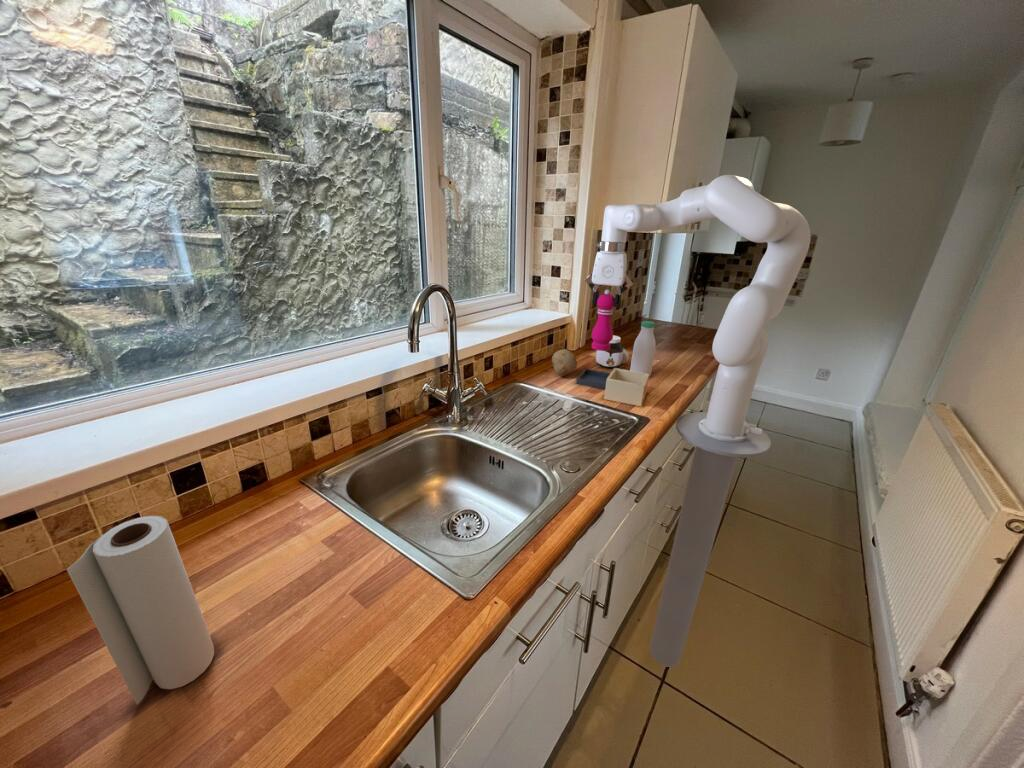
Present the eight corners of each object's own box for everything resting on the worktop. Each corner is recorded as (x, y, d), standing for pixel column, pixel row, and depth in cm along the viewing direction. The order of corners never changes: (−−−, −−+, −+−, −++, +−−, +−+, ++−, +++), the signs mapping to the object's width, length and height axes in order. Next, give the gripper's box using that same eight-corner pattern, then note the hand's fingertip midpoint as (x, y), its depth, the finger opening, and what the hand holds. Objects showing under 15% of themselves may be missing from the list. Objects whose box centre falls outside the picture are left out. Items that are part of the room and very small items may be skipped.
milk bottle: (652, 378, 149) (661, 325, 141) (630, 376, 150) (638, 323, 142) (649, 371, 156) (658, 320, 148) (628, 369, 157) (636, 318, 149)
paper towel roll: (217, 634, 55) (172, 507, 47) (212, 676, 50) (160, 542, 42) (150, 659, 52) (88, 527, 44) (137, 706, 47) (65, 567, 39)
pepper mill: (605, 352, 135) (613, 292, 127) (586, 348, 139) (592, 289, 131) (614, 347, 140) (622, 289, 133) (595, 343, 144) (602, 286, 137)
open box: (646, 393, 136) (649, 373, 133) (640, 406, 126) (644, 385, 124) (611, 386, 141) (614, 367, 138) (603, 399, 131) (606, 378, 128)
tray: (614, 379, 147) (615, 374, 147) (607, 389, 138) (608, 384, 137) (585, 373, 152) (585, 368, 151) (576, 383, 142) (576, 378, 141)
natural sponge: (574, 371, 153) (576, 346, 149) (577, 380, 145) (579, 354, 141) (550, 371, 153) (551, 345, 149) (551, 379, 145) (553, 353, 141)
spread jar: (593, 366, 159) (596, 338, 154) (599, 358, 169) (602, 331, 164) (624, 371, 155) (628, 342, 150) (628, 362, 164) (632, 335, 160)
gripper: (582, 246, 127) (577, 304, 134) (638, 250, 121) (630, 310, 127) (588, 245, 133) (583, 300, 140) (642, 248, 127) (634, 306, 134)
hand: (605, 304), depth 134 cm, fingers closed on pepper mill, 6 cm apart
